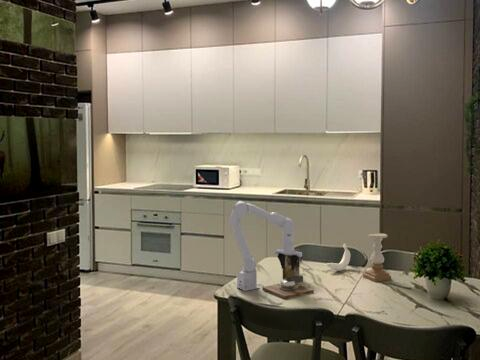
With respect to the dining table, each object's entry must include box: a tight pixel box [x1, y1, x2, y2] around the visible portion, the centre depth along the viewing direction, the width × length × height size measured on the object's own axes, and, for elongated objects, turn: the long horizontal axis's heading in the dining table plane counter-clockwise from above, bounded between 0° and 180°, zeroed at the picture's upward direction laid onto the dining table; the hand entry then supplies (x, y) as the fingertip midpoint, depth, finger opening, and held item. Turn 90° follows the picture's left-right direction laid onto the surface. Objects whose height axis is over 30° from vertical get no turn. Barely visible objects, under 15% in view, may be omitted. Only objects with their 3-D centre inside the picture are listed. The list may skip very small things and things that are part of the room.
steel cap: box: [280, 274, 304, 288], centre depth 259 cm, size 12×7×4 cm, turn 124°
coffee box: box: [282, 248, 300, 280], centre depth 279 cm, size 9×6×16 cm
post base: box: [262, 282, 315, 300], centre depth 258 cm, size 18×18×2 cm
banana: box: [326, 242, 351, 272], centre depth 296 cm, size 5×19×15 cm, turn 136°
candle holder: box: [362, 232, 392, 283], centre depth 279 cm, size 11×11×24 cm
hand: (288, 269), depth 264 cm, fingers open, 5 cm apart
